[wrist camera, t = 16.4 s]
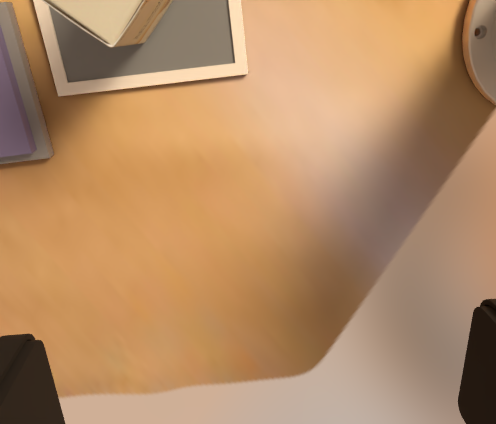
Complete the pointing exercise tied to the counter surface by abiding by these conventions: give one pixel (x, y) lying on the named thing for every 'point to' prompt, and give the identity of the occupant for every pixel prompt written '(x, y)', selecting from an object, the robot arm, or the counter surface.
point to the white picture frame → (148, 49)
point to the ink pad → (18, 98)
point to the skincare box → (113, 18)
